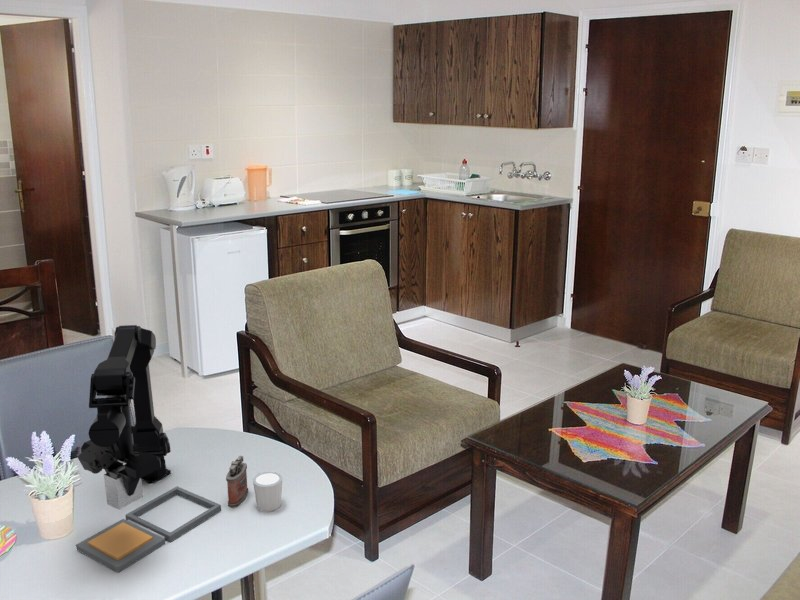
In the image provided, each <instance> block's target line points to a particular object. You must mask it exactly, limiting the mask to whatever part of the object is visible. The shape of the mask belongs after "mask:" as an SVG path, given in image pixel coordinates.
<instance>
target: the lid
mask: <svg viewBox="0 0 800 600" xmlns="http://www.w3.org/2000/svg"><path fill="white" fill-rule="evenodd" d="M165 539H166V537H164V536H162V535H160V534H158V533H156V532H154V531H152V530H150V529H148V528H146V527H144V526H141V525H139V524H137V523H135V522H133V521H131V520H126V518H121V519H120V520H118V521H116V522H115V523H113V524H111V525H109V526H107V527H106V528H104V529H102V530H99V531H98V532H97V533H95V534H92V535H91V536H89V537H87V538H86V539H84V540H82V541H80V542H78V543H77V544H75V548H76V549H77V550H76V549H75V550H76V551H78V550H79V551H78V552H80V551H81V552H80V553H82V552H83V553H84V555H85V554H86V556H87V555H88V557H89V556H90V557H89V558H91V559H93V560H94V559H95V560H94V561H97V563H100V564H102V565H104V566H105V567H106V568H109V569H111V570H113V571H114V572H116V573H120V572H122V571H124V570H125V569H127V568H128V567H130V566H132V565H133V564H135V563H136V562H138V561H140V560H141V559H143V558H144V557H146V556H147V555H149V554H151V553H153V552H154V551H156V550H157V549H159V548H161V547H162V546H165V545H166V540H165ZM83 553H82V554H83Z"/></svg>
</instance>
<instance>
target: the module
mask: <svg viewBox="0 0 800 600" xmlns="http://www.w3.org/2000/svg"><path fill="white" fill-rule="evenodd" d="M125 465H126V463H123V465H122V466H120V467H118V468H116V469H114V470H112V471H110V472H108V473H106V472H105V473H104V474H103V477H104V478H103V479H104V487H105V496H106V504H107V505H108V506H111V507H112V508H114V509H117V510H122V509H124V508H125V507H127V506H130V505H131V504H132V503H135V502H137V501H139V500H141V499H142V498H143V497H144V495H143V484H142V479H141V478H140V480H139V482H138V484H137V487H136V489H135V492H134V494H133V495H131V496H128V493H127V490H126V485H125V480H124V476H123V475H121V474H119V473H118V472H119V471H121V470H123V469H125Z"/></svg>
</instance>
